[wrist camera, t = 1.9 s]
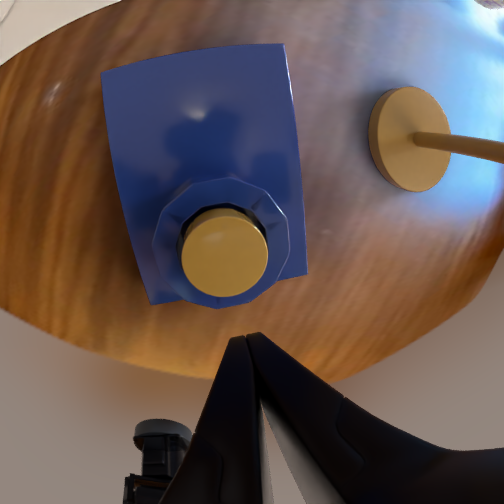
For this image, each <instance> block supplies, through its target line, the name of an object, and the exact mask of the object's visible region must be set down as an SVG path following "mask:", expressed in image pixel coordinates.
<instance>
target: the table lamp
mask: <svg viewBox="0 0 504 504" xmlns="http://www.w3.org/2000/svg"><path fill="white" fill-rule="evenodd" d="M368 139H369V146H370V150H371V154H372V157H373V160H374V162H375V164H376V166H377V168H378V170H379V171H380V173H381V174H382V175H383V177H384V178H385V179H386V180H387V181H389V182H390V183H391V184H393V185H394V186H396V187H399V188H402V189H405V190H408V191H411V192H422V191H426V190H428V189H430V188H432V187H433V186H435V185H436V184H437V183H438V182H439V181H440V180H441V178H442V177H443V175H444V173H445V171H446V169H447V167H448V164H449V161H450V156H451V153H457V154H462V155H467V156H472V157H477V158H481V159H486V160H490V161H494V162H498V163H502V164H504V142H499V141H494V140H488V139H482V138H475V137H468V136H460V135H452V134H451V131H450V127H449V123H448V120H447V117H446V115H445V113H444V111H443V109H442V108H441V106H440V105H439V103H438V102H437V101H436V100H435V99H434V97H432V96H431V95H430V94H429V93H427V92H426V91H424V90H422V89H420V88H416V87H401V88H395V89H392V90H389V91H388V92H386V93H385V94H383V95H382V96H381V97H380V98H379V100H378V101H377V102H376V104H375V106H374V108H373V110H372V113H371V116H370V120H369V128H368Z"/></svg>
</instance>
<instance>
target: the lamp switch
mask: <svg viewBox="0 0 504 504" xmlns="http://www.w3.org/2000/svg"><path fill="white" fill-rule="evenodd" d="M267 261H268V248H267V244H266V241H265V239H264V237H263V235H262V234H261V232H260V231H259V229H258V228H257V226H256V225H255V224H254V222H253V221H252V220H251V219H250V218H249V217H248V216H247V215H245V214H244V213H242V212H240V211H238V210H235V209H231V208H215V209H211V210H208V211H206V212H204V213H202V214H200V215H199V216H198V217H196V218H195V219H194V220H193V221H192V222H191V224H190V225H189V226H188V228H187V230H186V232H185V235H184V238H183V246H182V255H181V262H182V267H183V270H184V273H185V275H186V277H187V278H188V280H189V281H190V282H191V283H192V285H194V286H195V287H196V288H197V289H199V290H200V291H202V292H204V293H206V294H209V295H212V296H218V297H229V296H234V295H238V294H240V293H243V292H245V291H247V290H248V289H250V288H251V287H252V286H254V285H255V284H256V283H257V282H258V280H259V279H260V278H261V276H262V275H263V273H264V271H265V268H266V266H267Z"/></svg>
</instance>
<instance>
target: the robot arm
mask: <svg viewBox="0 0 504 504" xmlns="http://www.w3.org/2000/svg"><path fill="white" fill-rule="evenodd" d="M261 404H262V406H261ZM262 408H263V410H264V413H265V415H266V418H267V420H268V422H269V425H270V427H271V429H272V431H273V433H274V436H275V438H276V440H277V442H278V445H279V447H280V449H281V451H282V454H283V456H284V458H285V460H286V462H287V464H288V466H289V469H290V471H291V473H292V475H293V477H294V479H295V481H296V483H297V485H298V488H299V490H300V491H301V494H302V496H303V498H304V500H305V502H306V504H504V448H495V449H484V450H470V451H459V450H450V449H445V448H442V447H439V446H436V445H433V444H431V443H429V442H427V441H424V440H422V439H420V438H418V437H415V436H413V435H411V434H409V433H407V432H405V431H403V430H400V429H398V428H396V427H394V426H392V425H390V424H388V423H386V422H384V421H383V420H381V419H379V418H377V417H375V416H373V415H372V414H370V413H369V412H367V411H366V410H364V409H363V408H361V407H359V406H358V405H356V404H355V403H354V402H352V401H351V400H349V399H348V398H346V397H345V398H344V396H343V395H342V394H341V393H339V392H338V391H337V390H335V389H334V388H332V387H331V386H330V385H328V384H327V383H326V382H324V381H323V380H322V379H320V378H319V377H318V376H316V375H315V374H314V373H312V372H311V371H310V370H308V369H307V368H306V367H304V366H303V365H302V364H300V363H299V362H298V361H297V360H295V359H294V358H293V357H291V356H290V355H289V354H287V353H286V352H285V351H284V350H282V349H281V348H280V347H279V346H277V345H276V344H275V343H274V342H272V341H271V340H270V339H268V338H267V337H266V336H265V335H263V334H262V333H261V332H256V333H252V334H247V335H246V337H245V336H243V335H242V336H237V337H232V338H230V340H229V342H228V345H227V347H226V350H225V353H224V355H223V358H222V361H221V363H220V366H219V369H218V371H217V374H216V377H215V379H214V382H213V384H212V387H211V390H210V392H209V395H208V398H207V400H206V403H205V406H204V408H203V411H202V413H201V416H200V418H199V421H198V424H197V426H196V429H195V433H194V434H193V436H192V439H191V441H190V444H189V446H187V445H186V443H185V442H184V440H183V439H182V437H181V436H180V434H177V433H175V434H163V435H147V436H134V437H133V441H134V442H135V443H136V444H137V445H138V447H139V448H140V449H141V450H142V468H141V476H140V475H135V474H132V473H130V476H129V477H125V487H124V496H123V504H274V501H273V493H272V485H271V477H270V469H269V461H268V452H267V445H266V436H265V428H264V420H263V412H262Z"/></svg>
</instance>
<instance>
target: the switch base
mask: <svg viewBox="0 0 504 504" xmlns="http://www.w3.org/2000/svg"><path fill="white" fill-rule="evenodd" d="M101 85H102V95H103V104H104V112H105V119H106V127H107V133H108V140H109V146H110V152H111V157H112V163H113V168H114V173H115V178H116V183H117V187H118V192H119V196H120V201H121V205H122V209H123V213H124V217H125V221H126V225H127V229H128V233H129V237H130V240H131V244H132V247H133V251H134V254H135V258H136V261H137V265H138V268H139V271H140V274H141V277H142V281H143V284H144V287H145V290H146V293H147V296H148V299H149V302H150V304H151V305H157V304H162V303H168V302H173V301H179V300H185V301H188V302H191V303H195V304H199V305H202V306H206V307H210V308H214V309H220V308H225V307H230V306H235V305H240V304H245V303H249V302H251V301H252V300H254V299H255V298H256V297H258V296H259V295H260V294H262V293H263V292H264V291H266V290H267V289H268V288H269V287H271V286H272V285H273V284H275V283H276V281H280V280H284V279H289V278H294V277H298V276H303V275H307V274H308V264H307V245H306V229H305V215H304V202H303V190H302V179H301V168H300V158H299V148H298V139H297V131H296V122H295V114H294V106H293V99H292V92H291V84H290V78H289V71H288V64H287V58H286V52H285V46H284V44H249V45H235V46H224V47H215V48H207V49H199V50H193V51H187V52H181V53H175V54H170V55H165V56H160V57H156V58H151V59H147V60H143V61H139V62H135V63H131V64H128V65H124V66H121V67H117V68H114V69H111V70H107V71H104V72H101ZM215 208H231V209H235V210H238V211H240V212H242V213H244V214H245V215H247V216H248V217H249V218H250V219H251V220H252V221H253V222H254V224H255V225H256V226H257V228H258V229H259V231H260V232H261V234H262V235H263V237H264V239H265V241H266V244H267V248H268V261H267V266H266V268H265V271H264V273H263V275H262V276H261V278H260V279H259V280H258V282H257V283H256V284H255V285H254V286H252V287H251V288H250V289H248V290H247V291H245V292H243V293H240V294H238V295H234V296H229V297H218V296H212V295H209V294H206V293H204V292H202V291H200V290H199V289H197V288H196V287H195V286H194V285H192V283H191V282H190V281H189V280H188V278H187V277H186V275H185V273H184V270H183V267H182V262H181V255H182V246H183V238H184V235H185V232H186V230H187V228H188V226H189V225H190V224H191V222H192V221H193V220H194V219H195V218H196V217H198V216H199V215H200V214H202V213H204V212H206V211H208V210H211V209H215Z"/></svg>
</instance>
